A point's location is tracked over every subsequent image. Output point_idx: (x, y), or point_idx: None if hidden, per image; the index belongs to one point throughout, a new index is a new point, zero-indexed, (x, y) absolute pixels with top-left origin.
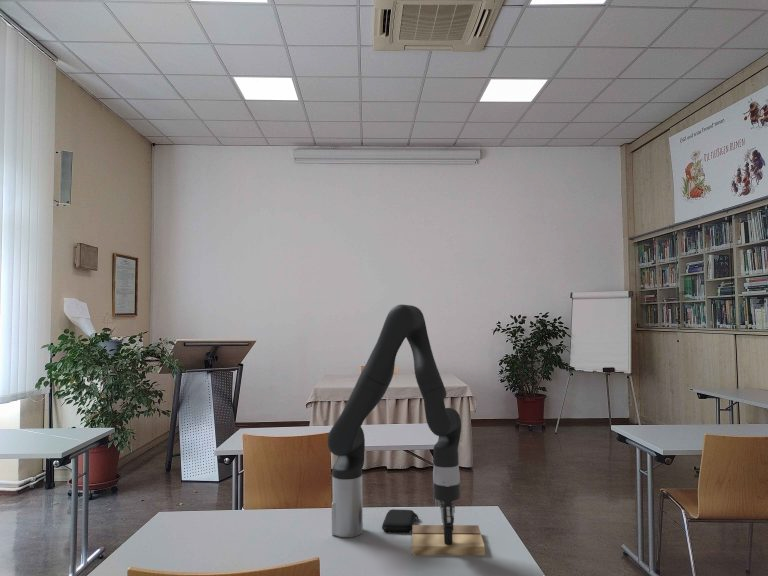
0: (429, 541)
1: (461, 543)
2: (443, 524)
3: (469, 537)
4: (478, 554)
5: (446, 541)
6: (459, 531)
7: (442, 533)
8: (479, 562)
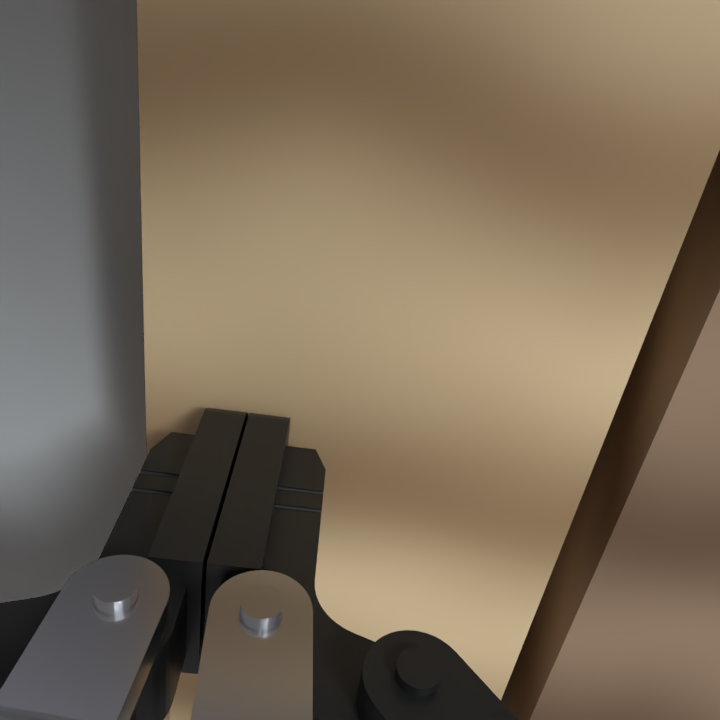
0: (352, 170)
1: None
2: (225, 652)
3: None
4: None
5: (150, 453)
6: (622, 645)
7: (645, 444)
8: (14, 599)
